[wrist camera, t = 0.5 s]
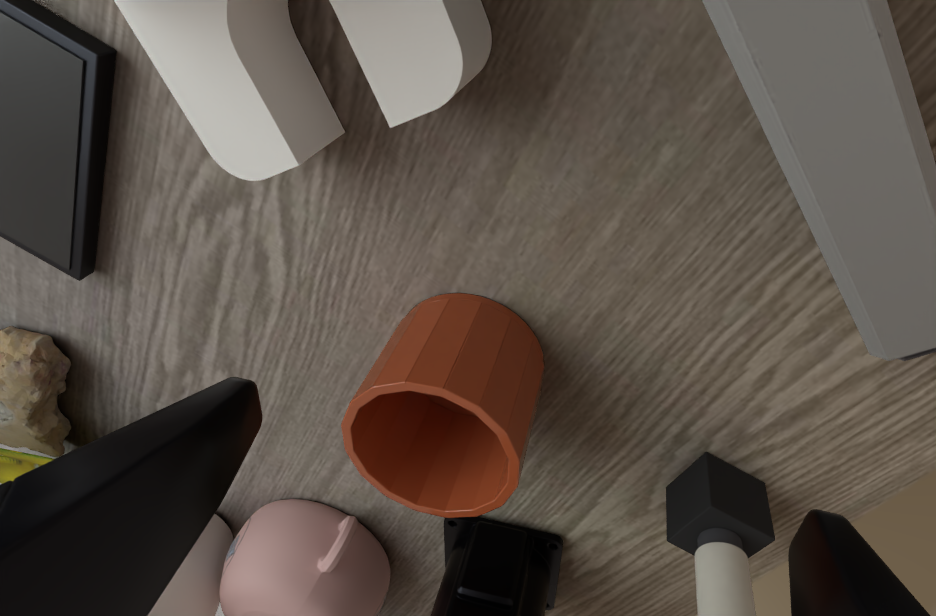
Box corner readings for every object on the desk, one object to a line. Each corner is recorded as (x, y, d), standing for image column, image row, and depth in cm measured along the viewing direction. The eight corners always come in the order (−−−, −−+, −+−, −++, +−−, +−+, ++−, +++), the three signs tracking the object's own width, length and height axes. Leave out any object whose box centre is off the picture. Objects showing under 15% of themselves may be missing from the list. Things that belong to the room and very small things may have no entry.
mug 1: (248, 581, 43) (131, 774, 34) (138, 529, 43) (-11, 706, 34) (273, 494, 36) (134, 704, 27) (142, 431, 36) (-44, 619, 27)
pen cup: (539, 426, 28) (514, 533, 23) (402, 400, 29) (352, 497, 25) (550, 305, 24) (523, 403, 19) (392, 282, 26) (331, 368, 21)
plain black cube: (721, 516, 28) (727, 573, 26) (665, 486, 28) (666, 541, 26) (765, 482, 26) (776, 540, 24) (706, 451, 26) (710, 505, 24)
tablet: (-34, -40, 23) (-63, -38, 22) (117, 50, 23) (95, 55, 22) (-21, 206, 30) (-42, 215, 29) (94, 271, 30) (77, 282, 29)
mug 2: (178, 623, 36) (233, 539, 41) (319, 701, 37) (357, 611, 42) (232, 540, 29) (292, 451, 34) (404, 639, 30) (438, 540, 35)
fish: (9, 508, 42) (155, 535, 44) (-121, 455, 29) (96, 497, 30) (29, 469, 44) (170, 496, 45) (-86, 401, 30) (120, 444, 32)
